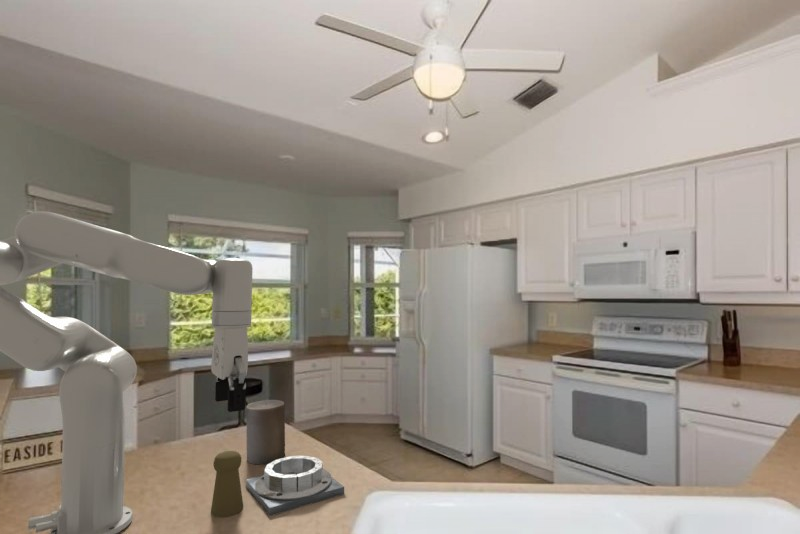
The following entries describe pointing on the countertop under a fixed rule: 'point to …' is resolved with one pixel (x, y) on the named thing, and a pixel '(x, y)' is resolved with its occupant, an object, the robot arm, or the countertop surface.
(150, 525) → the countertop surface
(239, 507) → the olive knobbed peg
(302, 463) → the rosette plate
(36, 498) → the countertop surface
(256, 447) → the pillar candle
